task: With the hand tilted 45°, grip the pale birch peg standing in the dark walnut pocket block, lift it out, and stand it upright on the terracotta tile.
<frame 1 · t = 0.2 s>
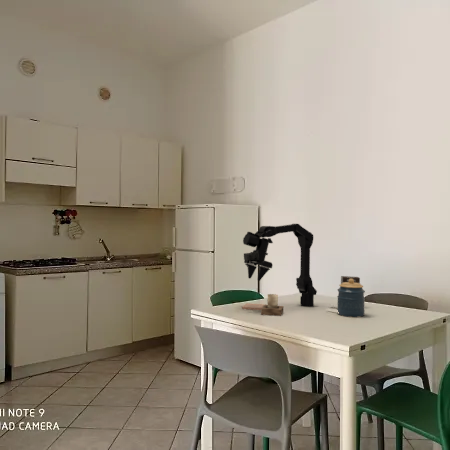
hand: (253, 279, 223), 15 cm above the table, tool tilted 15°, fingers open, 9 cm apart
terracotta tile: (254, 307, 229), on the table
coffee box: (349, 307, 236), on the table
walnut pocket block: (272, 313, 214), on the table
birch peg: (272, 304, 214), in the walnut pocket block
canister: (350, 315, 215), on the table
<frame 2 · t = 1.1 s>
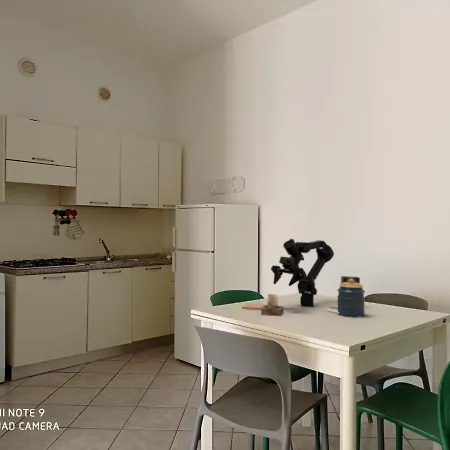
hand: (281, 284, 220), 13 cm above the table, tool tilted 45°, fingers open, 9 cm apart
nothing on the table moved.
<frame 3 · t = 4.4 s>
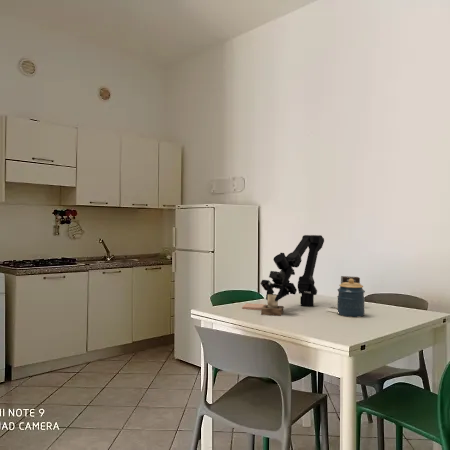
hand: (270, 300, 213), 7 cm above the table, tool tilted 45°, fingers closed on birch peg, 5 cm apart
birch peg: (272, 304, 214), in the walnut pocket block, touching gripper
everything else where it was.
when the fingers open (8 cm above the table, at t = 9.4 s): birch peg stays where it is, resting on terracotta tile.
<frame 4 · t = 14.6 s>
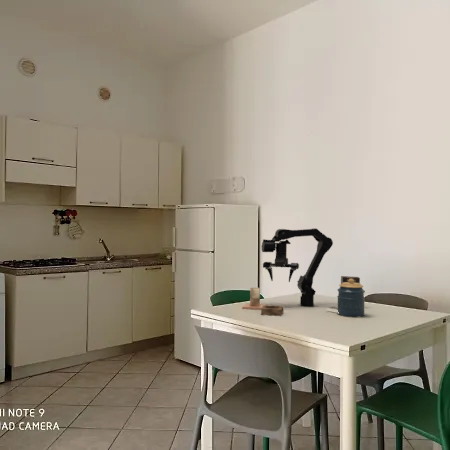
hand: (280, 281, 236), 13 cm above the table, tool pointing down, fingers open, 9 cm apart
birch peg: (255, 297, 229), on the terracotta tile, point 6 cm above the table
everything else where it was.
at the end: birch peg inside the target area on the terracotta tile (0.0 cm from its centre), point 5.5 cm above the terracotta tile's base; birch peg tilted 0°; the gripper is holding nothing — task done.
